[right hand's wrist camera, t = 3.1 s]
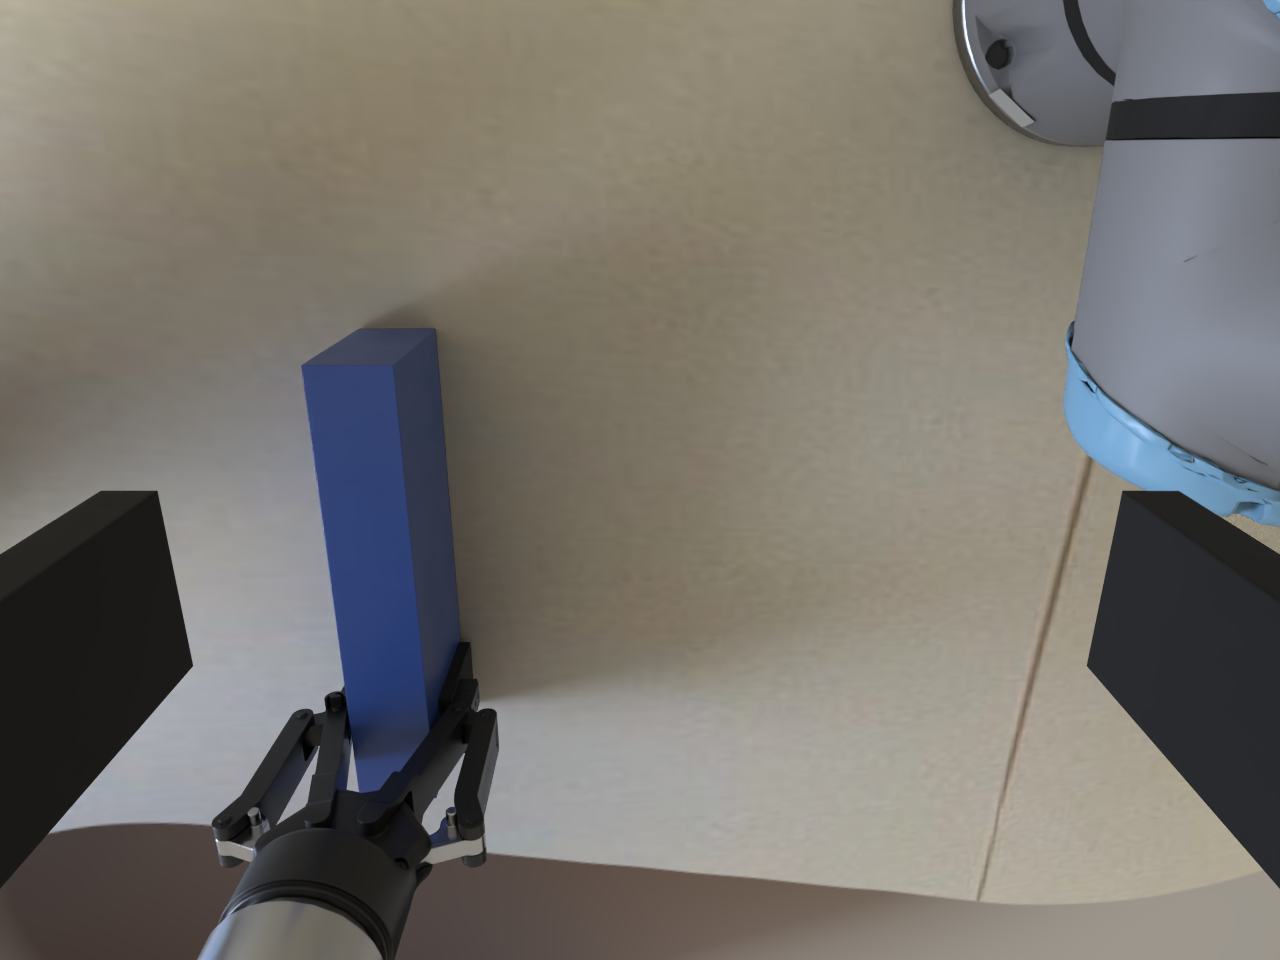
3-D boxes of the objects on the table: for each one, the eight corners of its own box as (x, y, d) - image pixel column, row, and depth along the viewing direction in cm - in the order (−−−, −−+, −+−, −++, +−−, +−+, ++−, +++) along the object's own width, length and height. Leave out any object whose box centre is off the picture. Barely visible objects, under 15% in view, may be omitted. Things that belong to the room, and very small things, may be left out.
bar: (358, 328, 52) (300, 365, 43) (435, 328, 52) (393, 365, 43) (400, 704, 61) (359, 798, 52) (466, 704, 61) (436, 798, 52)
